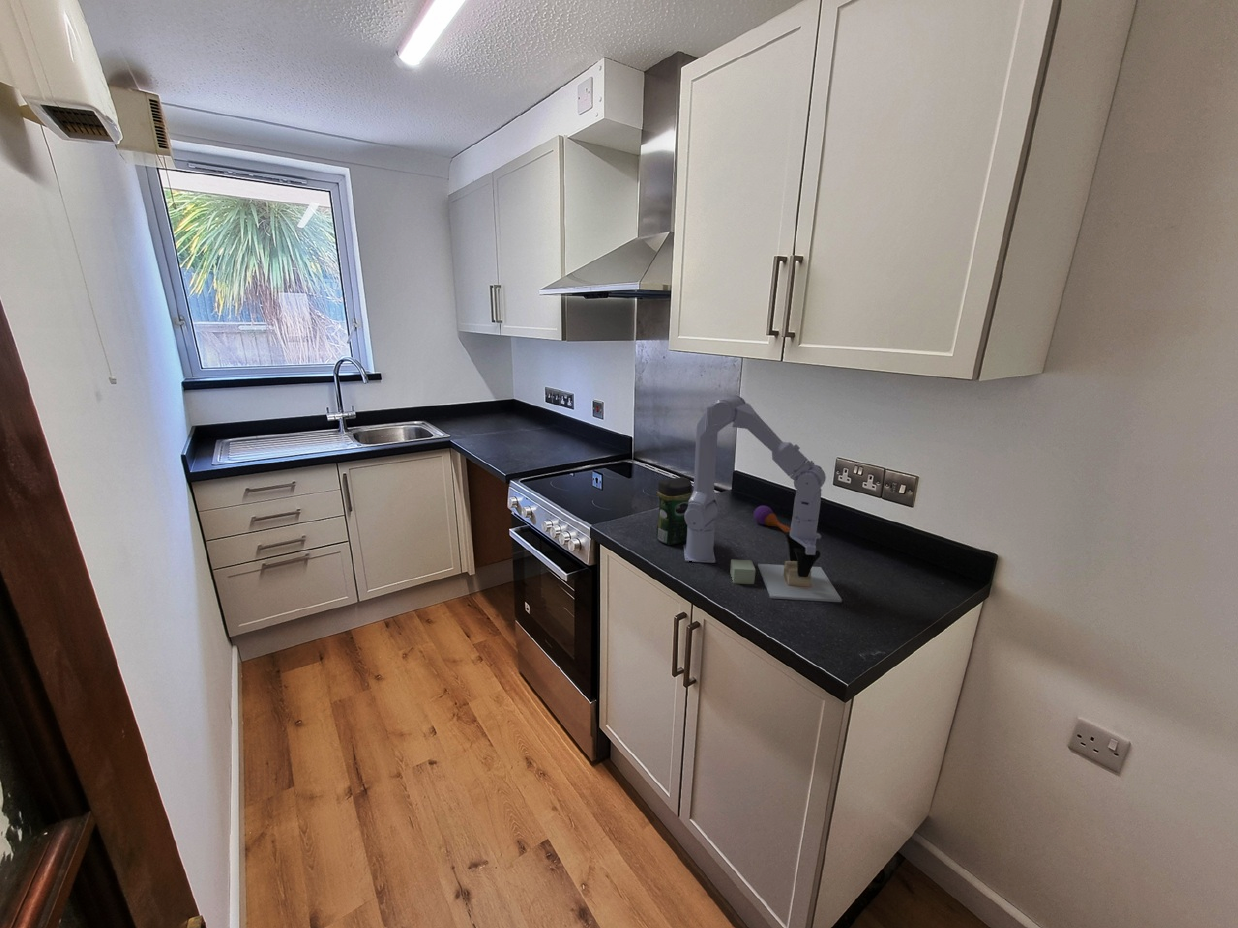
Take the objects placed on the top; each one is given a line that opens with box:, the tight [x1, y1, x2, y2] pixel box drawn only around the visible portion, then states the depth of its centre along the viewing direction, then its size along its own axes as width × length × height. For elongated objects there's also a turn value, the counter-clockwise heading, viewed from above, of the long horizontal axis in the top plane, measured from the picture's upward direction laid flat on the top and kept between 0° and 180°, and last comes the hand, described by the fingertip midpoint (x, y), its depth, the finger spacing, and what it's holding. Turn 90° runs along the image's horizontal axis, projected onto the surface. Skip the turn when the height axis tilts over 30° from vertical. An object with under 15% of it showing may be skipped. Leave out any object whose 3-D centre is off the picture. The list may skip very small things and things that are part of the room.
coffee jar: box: [655, 476, 693, 546], centre depth 145 cm, size 10×8×19 cm
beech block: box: [784, 560, 812, 586], centre depth 124 cm, size 5×5×4 cm
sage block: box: [729, 559, 756, 585], centre depth 126 cm, size 5×5×4 cm
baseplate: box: [757, 563, 843, 603], centre depth 124 cm, size 16×16×1 cm
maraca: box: [753, 505, 791, 534], centre depth 154 cm, size 6×6×20 cm
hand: (798, 568), depth 123 cm, fingers open, 7 cm apart
